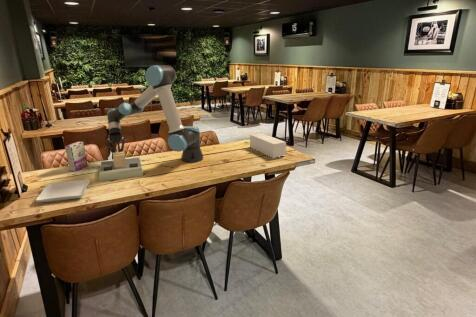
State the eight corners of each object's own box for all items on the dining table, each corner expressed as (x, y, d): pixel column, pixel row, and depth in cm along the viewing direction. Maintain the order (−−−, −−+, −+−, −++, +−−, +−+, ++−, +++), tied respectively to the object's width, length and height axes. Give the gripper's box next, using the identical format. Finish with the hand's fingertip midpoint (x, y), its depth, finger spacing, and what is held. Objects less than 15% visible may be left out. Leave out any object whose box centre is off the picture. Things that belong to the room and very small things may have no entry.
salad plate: (84, 200, 148) (83, 194, 147) (35, 206, 143) (34, 199, 142) (91, 184, 168) (90, 178, 166) (49, 188, 162) (47, 183, 161)
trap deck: (101, 165, 197) (101, 161, 196) (139, 160, 205) (139, 157, 204) (99, 181, 170) (98, 177, 169) (143, 175, 178) (142, 171, 178)
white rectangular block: (249, 147, 235) (250, 134, 232) (261, 145, 240) (261, 132, 237) (273, 158, 208) (273, 144, 205) (285, 156, 213) (286, 142, 210)
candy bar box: (81, 165, 197) (77, 141, 192) (88, 165, 196) (84, 141, 191) (69, 171, 187) (64, 146, 182) (76, 171, 186) (71, 146, 181)
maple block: (114, 164, 190) (112, 152, 187) (125, 163, 192) (124, 151, 190) (114, 168, 184) (112, 156, 181) (126, 166, 186) (125, 154, 184)
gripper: (125, 132, 206) (129, 162, 197) (105, 133, 202) (107, 164, 192) (124, 126, 200) (128, 157, 190) (103, 127, 195) (106, 159, 186)
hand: (118, 161), depth 191 cm, fingers closed
